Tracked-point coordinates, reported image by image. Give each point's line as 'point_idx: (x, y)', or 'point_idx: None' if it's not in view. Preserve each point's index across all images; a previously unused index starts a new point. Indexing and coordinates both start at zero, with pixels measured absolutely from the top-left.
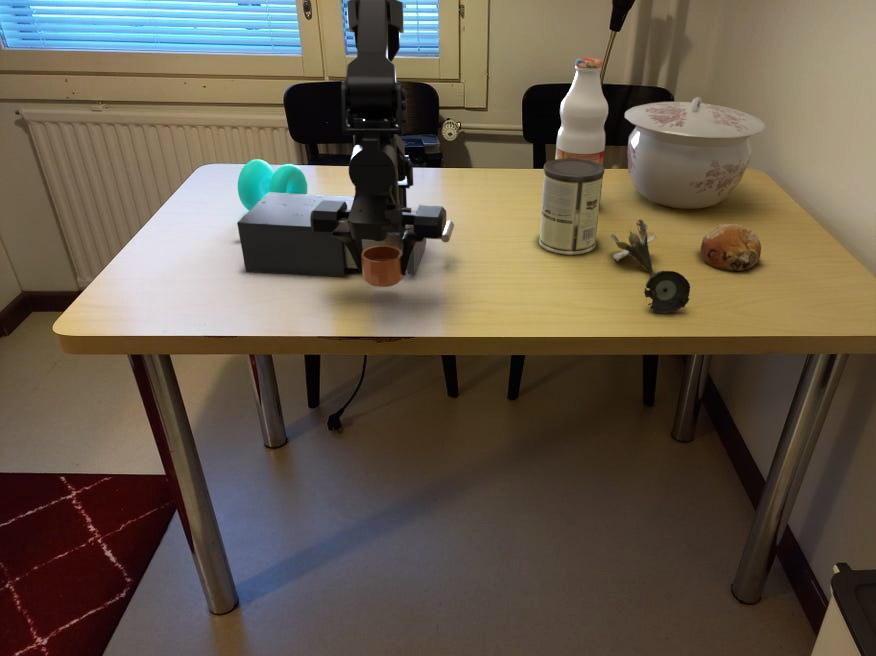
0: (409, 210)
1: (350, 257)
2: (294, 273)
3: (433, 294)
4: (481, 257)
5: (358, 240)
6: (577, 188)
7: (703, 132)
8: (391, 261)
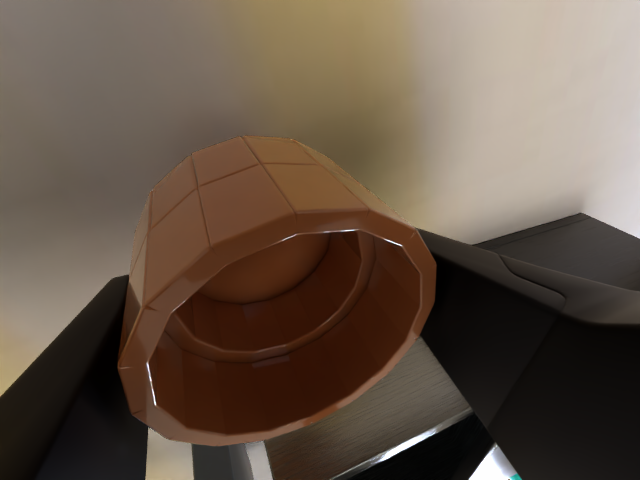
0: None
1: None
2: (502, 238)
3: (34, 288)
4: None
5: (502, 374)
6: None
7: None
8: (161, 282)
